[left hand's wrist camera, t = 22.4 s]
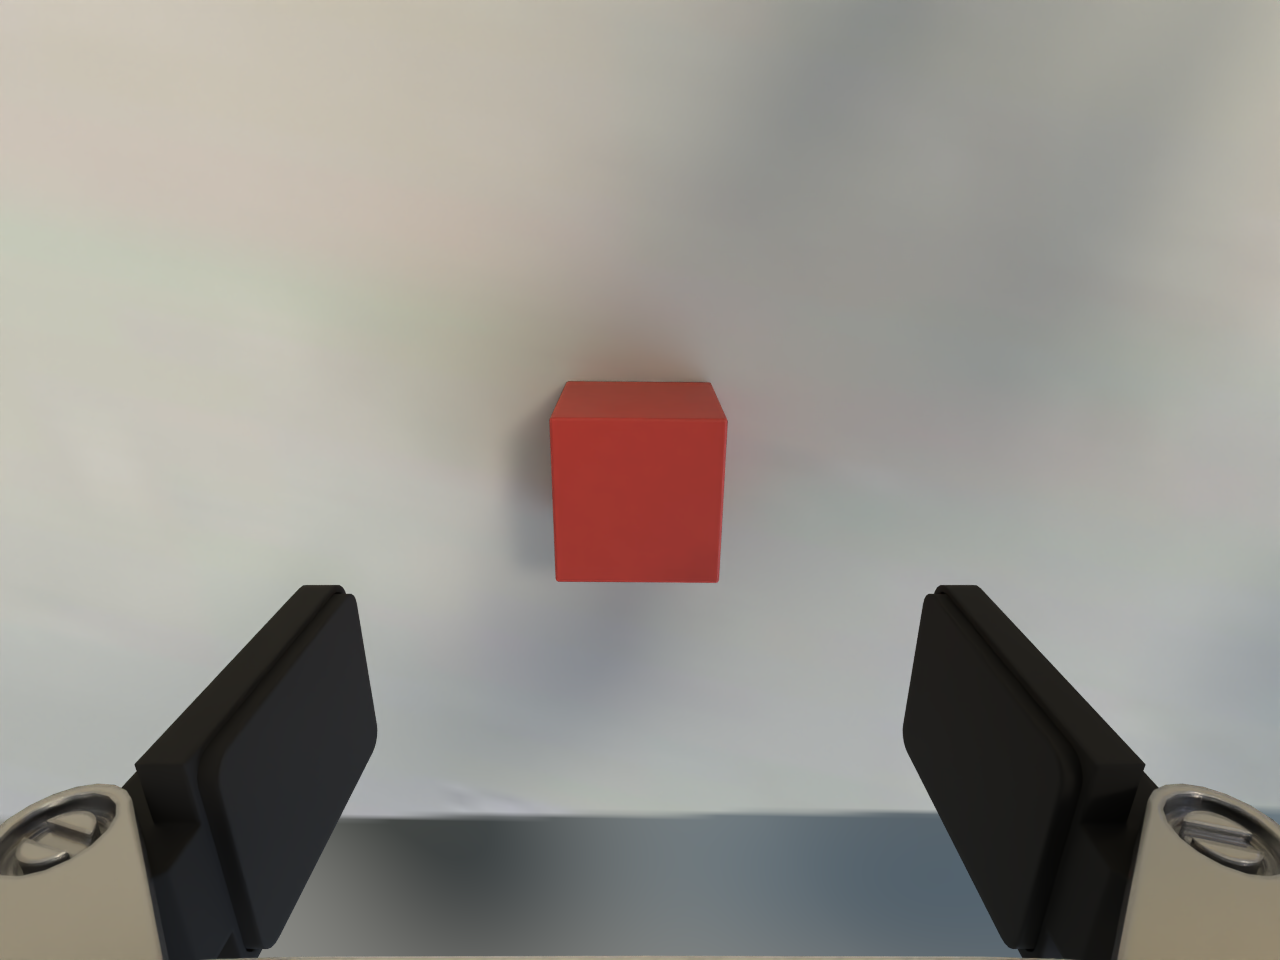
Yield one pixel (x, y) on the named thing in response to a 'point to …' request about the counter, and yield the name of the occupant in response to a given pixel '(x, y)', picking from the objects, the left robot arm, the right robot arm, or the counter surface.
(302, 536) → the counter surface
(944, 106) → the counter surface
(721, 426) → the cube
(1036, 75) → the counter surface
